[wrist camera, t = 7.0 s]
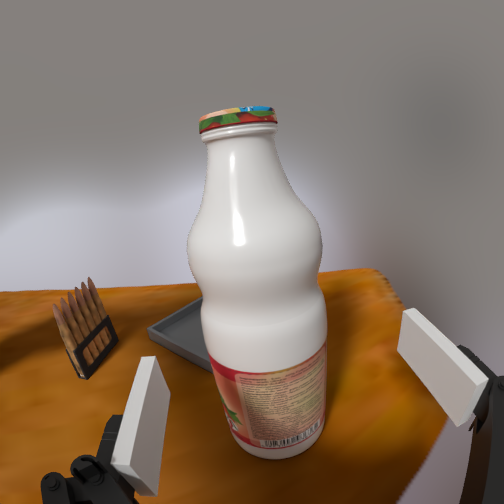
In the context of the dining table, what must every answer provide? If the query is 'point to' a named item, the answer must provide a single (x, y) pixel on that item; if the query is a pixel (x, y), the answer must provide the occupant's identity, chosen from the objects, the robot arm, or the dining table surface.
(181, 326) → the tray
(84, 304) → the ammunition clip
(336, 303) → the dining table surface
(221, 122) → the white milk bottle
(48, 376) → the dining table surface
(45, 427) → the dining table surface
